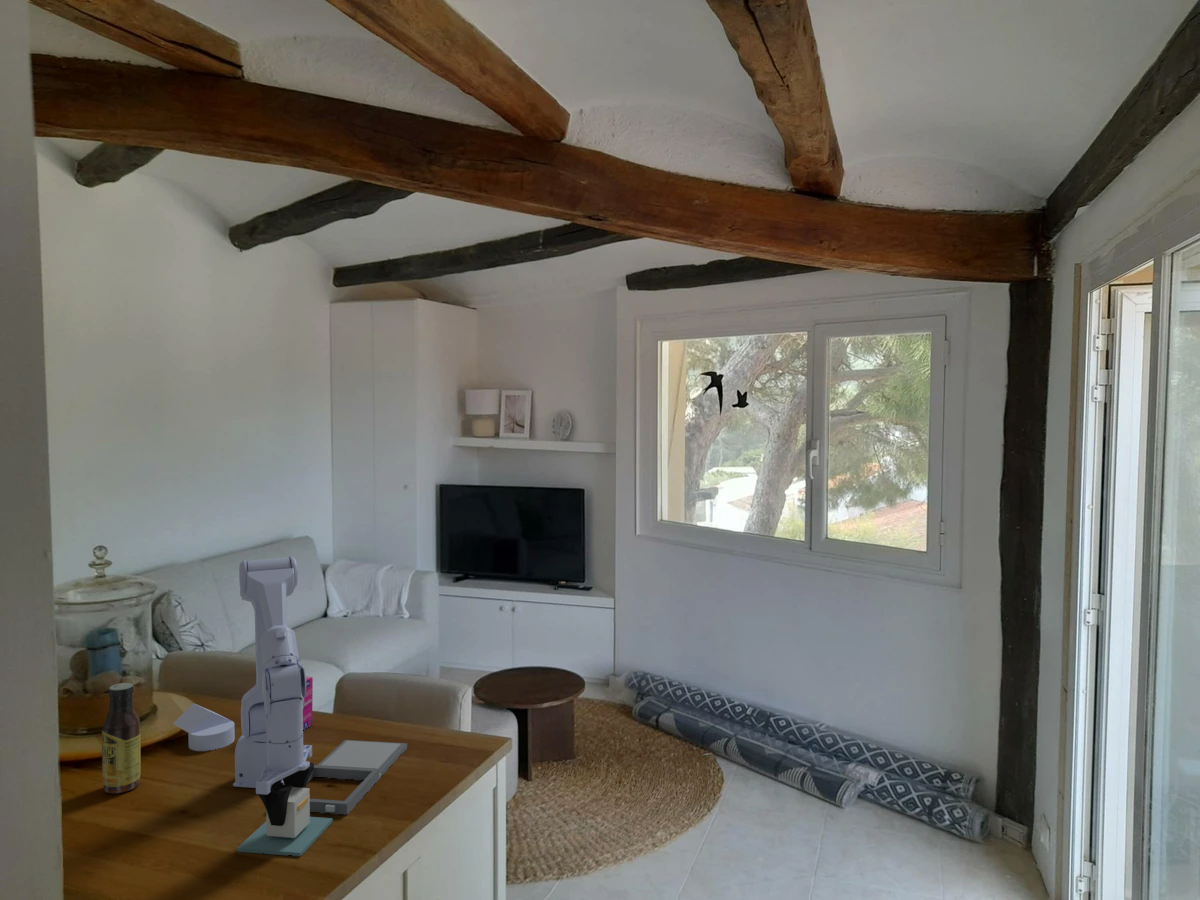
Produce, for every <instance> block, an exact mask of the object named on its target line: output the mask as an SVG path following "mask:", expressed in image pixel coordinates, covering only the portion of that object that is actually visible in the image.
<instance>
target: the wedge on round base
mask: <svg viewBox="0 0 1200 900" xmlns="http://www.w3.org/2000/svg"><path fill="white" fill-rule="evenodd" d="M172 725H174V726H175V727H177V728H179V729H181V730H183V731H185V732H186V733H188V735H187V736H188V737H187V739H188V740H187V742H188V743H187V744H188V748H189V750H192V751H195V752H208V751H209V750H210V751H215V749H216V750H219V748H220V749H222V748H225V747H227V746H230V745H231V744H233V742H235V738H236V737H235V734H236V733H235V730H236V729H235V722H234V721H233V720H231V719H229V718H227V717H225V716H223V715H220V714H219V713H217V712H215V711H213V710H210V709H208V708H206V707H203V706H201V705H199V704H197V703H192V704H191V705H190V706H189V707H188V708H187V709H186V710H185V711H184V712H183V713H182V714H181V715H180V716H179V717H178V718H177V719H176V720H175V721H174V722H173V724H172Z"/></svg>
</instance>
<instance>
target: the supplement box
mask: <svg viewBox="0 0 1200 900" xmlns="http://www.w3.org/2000/svg"><path fill="white" fill-rule="evenodd" d="M313 679H314V677H312V676H306V693H305V697H304V698H303V696H302V692H301V697H302V700H303V730H304V731H305V729H306V728H307V729H309V728H310V727H309V726H311V725H312V726H313V691H314V690H313V688H314V687H313V686H314V685H313V682H314V680H313ZM312 726H311V727H312ZM308 727H309V728H308ZM307 729H306V730H307Z"/></svg>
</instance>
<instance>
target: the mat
mask: <svg viewBox="0 0 1200 900" xmlns="http://www.w3.org/2000/svg"><path fill="white" fill-rule="evenodd" d="M333 820H334V819H333V818H330V817H321V816H320V817H318V816H310V823H309V824H308V825H307V826H306V827H305V828H304V829H303V830H302V831H301V832H300V833H299V834H298V835H297V836H296V837H295V838H288V837H277V836H266V821H265V822H263V824H261V825H260V826H259V827H258V828H257V829H256V830H254V832H253V833H252V834H250V836H249V837H247V838H246V839H245V840H244V841H243V842H242V843H241V844H240V845H239V846H237V848H236V852H239V853H252V854H263V853H264V854H265V855H278V856H288V855H292V857H300V856H301V855H302V854H303V853H304V854H305V853H306V852H307V851H308V849H309V848H310V847H311V846H312V845H313V844H314V843H315V842H316V840H317V839H318V838H319V837H320V836H321V835H322V834H323V833H324V832H325V831H326V830H327V829H328V827H330V825H331V824H332V823H333V822H334V821H333ZM304 854H303V855H304ZM303 855H302V856H303ZM302 856H301V857H302Z"/></svg>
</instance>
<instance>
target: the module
mask: <svg viewBox="0 0 1200 900" xmlns="http://www.w3.org/2000/svg"><path fill="white" fill-rule="evenodd" d="M310 791H311V789H310V788H309V787H306V788H299V787H292V789H291V791H290V794H289V798H288V802H287V811H286V819H285V823H284V825H283V826H274V825H271V823H270V820H269V817H268V814H267V811H266V810H265V812H266V813H265V814H266V818H265V819H266V820H265V822H266V836H277V837H288V838H295V837H296V836H297V835H298V834H299V833H300V832H301V831H302V830H303V829H304V828H305V827H306V826H307V825H308V824H309V823H310V817H311V813H310V799H311V798H310V797H311V795H310V793H311V792H310Z"/></svg>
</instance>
